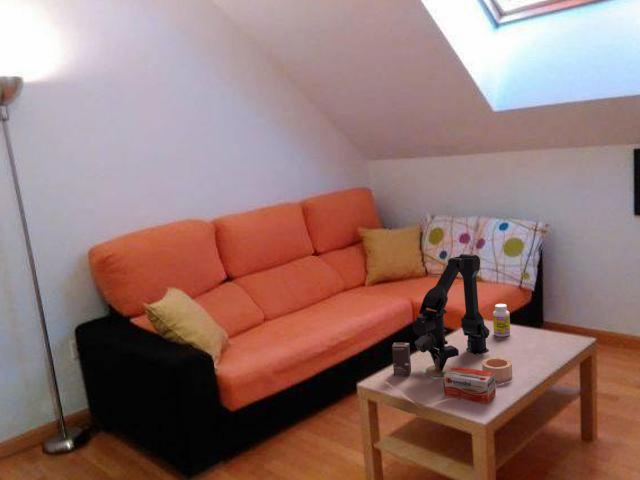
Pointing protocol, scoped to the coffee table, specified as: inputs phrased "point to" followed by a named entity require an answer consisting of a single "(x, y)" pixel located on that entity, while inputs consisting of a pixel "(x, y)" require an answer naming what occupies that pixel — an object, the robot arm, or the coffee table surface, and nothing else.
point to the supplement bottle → (501, 320)
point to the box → (401, 359)
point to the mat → (431, 376)
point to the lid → (437, 370)
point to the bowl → (498, 368)
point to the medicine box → (470, 384)
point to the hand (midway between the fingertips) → (439, 368)
